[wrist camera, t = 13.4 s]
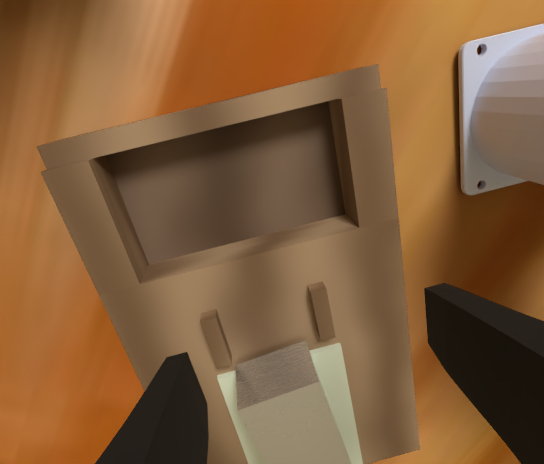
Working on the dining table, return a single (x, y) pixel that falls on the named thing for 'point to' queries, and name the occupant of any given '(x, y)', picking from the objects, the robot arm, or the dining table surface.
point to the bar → (288, 409)
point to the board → (252, 242)
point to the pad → (336, 391)
